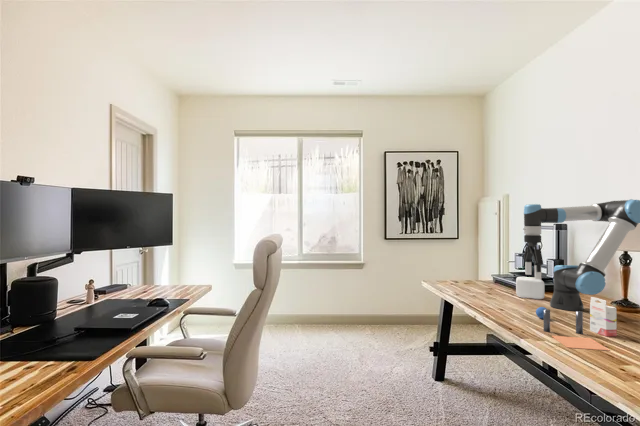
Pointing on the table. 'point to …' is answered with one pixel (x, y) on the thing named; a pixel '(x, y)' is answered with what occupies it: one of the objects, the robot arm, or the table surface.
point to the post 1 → (546, 320)
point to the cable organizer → (529, 288)
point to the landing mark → (580, 343)
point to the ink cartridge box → (602, 318)
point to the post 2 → (579, 322)
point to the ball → (540, 312)
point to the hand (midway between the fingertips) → (533, 276)
